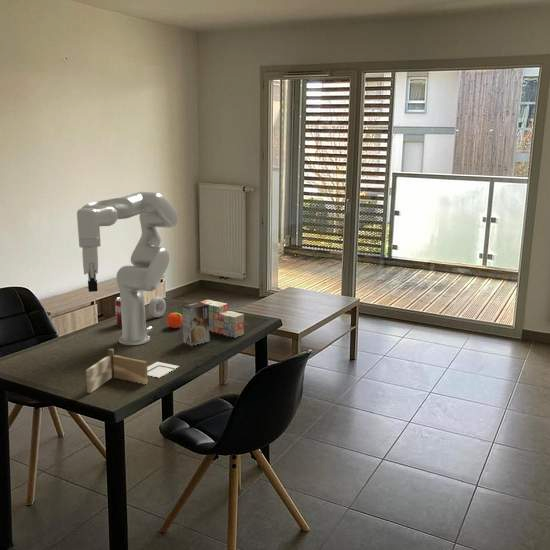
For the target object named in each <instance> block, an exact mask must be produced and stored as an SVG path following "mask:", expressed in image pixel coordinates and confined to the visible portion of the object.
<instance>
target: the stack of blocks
mask: <svg viewBox="0 0 550 550" xmlns="http://www.w3.org/2000/svg"><path fill="white" fill-rule="evenodd" d="M200 302H202V303H205V304H208V308H209V331H212V332H211V333H213V332H216V333H215V334H217V333H219V334H218V335H221V334H223V335H222V336H225V335H226V336H225V337H229V336H230V337H229V338H232V337H233V339H235V338H238V336H239V337H241V336H243V334H245V332H244V331H245V329H244V327H245V314H244V313H240V312H237V311H233V310H232V311H231V310H229V304H228V303H226V302H221V301H217V300H216V301H215V300H213V299H204V300H201V301H200Z"/></svg>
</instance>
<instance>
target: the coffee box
mask: <svg viewBox="0 0 550 550" xmlns="http://www.w3.org/2000/svg"><path fill="white" fill-rule="evenodd" d="M181 313H182V314H181V315H182V319H183V321H182V331H183V332H182V335H183V336H182V337H183V343H184V344H186V343H187V344H186V345H188V344H189V345H188V346H190V345H191V346H190V347H194V346H193V345H195V346H198V345H197V344H199V345H202V344H206V343H209V341H211V340H210V339H211V335H210V334H211V333H210V332H209V308H208V304H205V303H202V302H201V301H197V302H192V303H187V304H183V305H181ZM205 342H206V343H205ZM201 343H202V344H201Z"/></svg>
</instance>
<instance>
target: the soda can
mask: <svg viewBox="0 0 550 550" xmlns="http://www.w3.org/2000/svg"><path fill="white" fill-rule="evenodd" d="M114 304H115V305H114V306H115V309H114V310H115V323H116V326H118V327H119V326H120V328H122V316H121V299H120V297H117V298H116V299H115V300H114Z"/></svg>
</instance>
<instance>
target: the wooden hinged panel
mask: <svg viewBox="0 0 550 550" xmlns="http://www.w3.org/2000/svg"><path fill="white" fill-rule="evenodd" d="M107 356H111V367H112V378H115V379H118V378H119V379H120V380H123V381H127V380H128V381H129V382H133V383H136V382H137V383H136V384H141V383H142V384H141V385H145V384H146V385H148V384H149V376H148V373H147V367H148V362H147V361H146V360H139V359H136V358H131V357H126V356H122V355H117V354H115V350H114V348H108V349H107ZM128 381H127V382H128ZM147 383H148V384H147Z"/></svg>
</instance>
